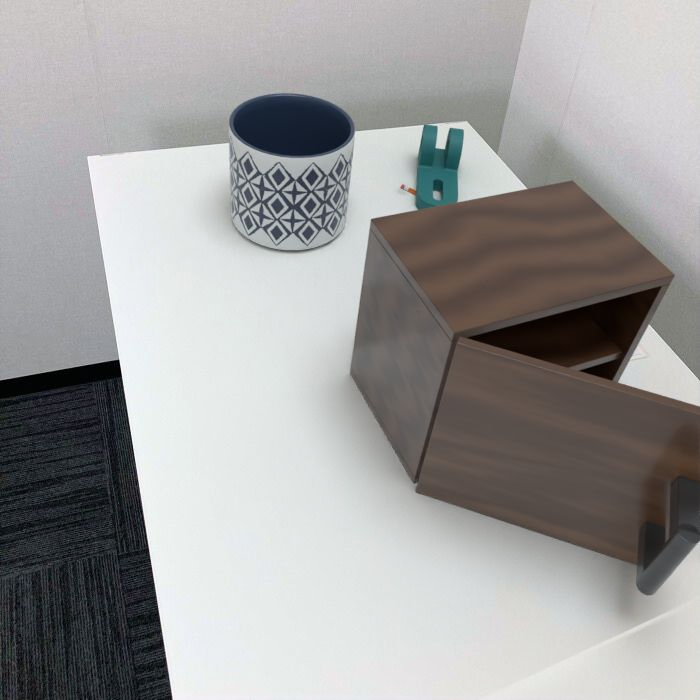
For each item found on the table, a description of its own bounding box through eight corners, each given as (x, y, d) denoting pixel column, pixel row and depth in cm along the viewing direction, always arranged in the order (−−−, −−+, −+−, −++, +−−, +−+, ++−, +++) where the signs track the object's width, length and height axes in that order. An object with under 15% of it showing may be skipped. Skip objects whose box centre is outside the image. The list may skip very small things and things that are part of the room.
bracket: (417, 157, 133) (424, 117, 128) (454, 161, 133) (463, 122, 128) (414, 214, 121) (422, 173, 115) (455, 220, 121) (465, 178, 115)
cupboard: (596, 422, 93) (675, 274, 76) (413, 484, 84) (454, 332, 67) (519, 327, 104) (572, 179, 87) (349, 373, 95) (370, 218, 78)
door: (648, 629, 74) (767, 499, 57) (398, 544, 78) (438, 398, 61) (651, 561, 80) (760, 423, 62) (417, 485, 84) (459, 335, 67)
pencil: (402, 187, 127) (403, 183, 126) (492, 230, 120) (493, 227, 120) (400, 188, 126) (400, 185, 126) (490, 233, 120) (491, 229, 119)
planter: (226, 186, 121) (223, 92, 110) (334, 183, 125) (343, 92, 113) (236, 256, 109) (234, 159, 97) (355, 250, 113) (367, 156, 101)
